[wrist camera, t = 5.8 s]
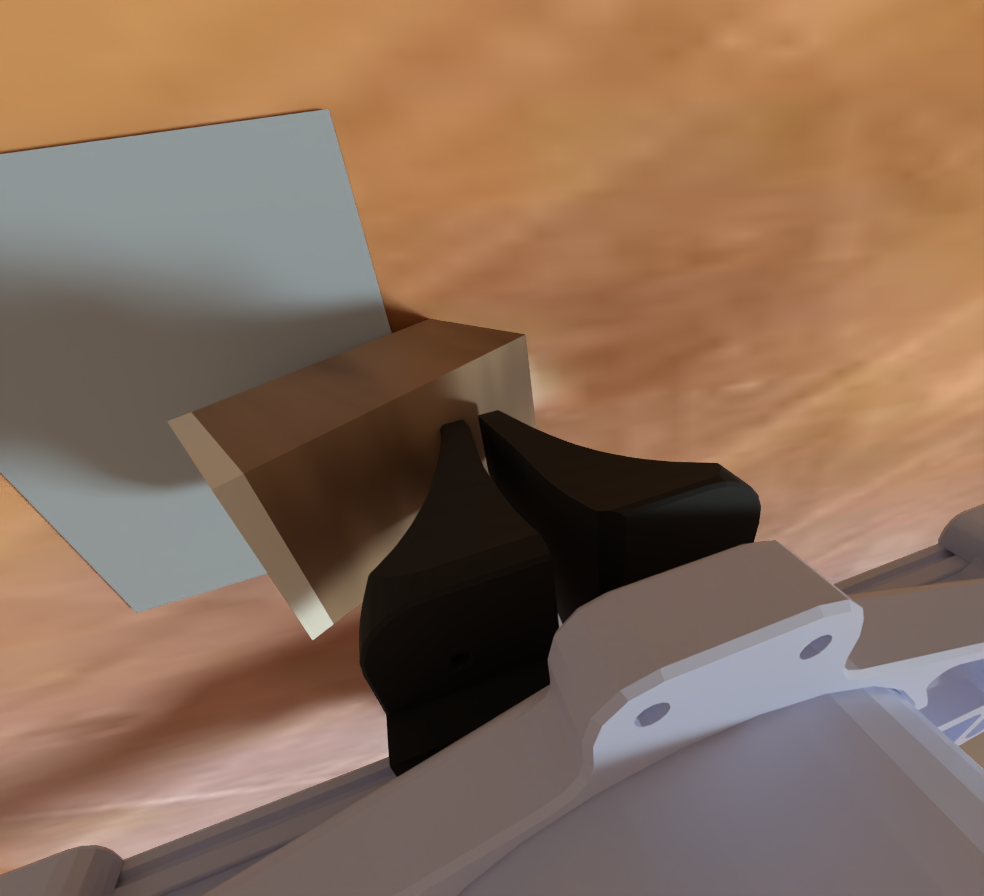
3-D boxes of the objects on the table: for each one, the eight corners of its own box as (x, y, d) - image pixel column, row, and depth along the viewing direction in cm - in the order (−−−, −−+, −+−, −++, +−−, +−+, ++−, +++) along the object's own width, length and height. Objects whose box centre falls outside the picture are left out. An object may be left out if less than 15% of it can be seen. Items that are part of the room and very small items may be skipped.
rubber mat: (443, 516, 21) (444, 519, 21) (139, 607, 19) (136, 612, 18) (329, 111, 12) (328, 108, 12) (-257, 192, 10) (-272, 191, 10)
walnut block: (540, 466, 15) (312, 640, 11) (455, 429, 19) (253, 549, 14) (525, 334, 13) (211, 489, 8) (429, 318, 16) (167, 421, 11)
